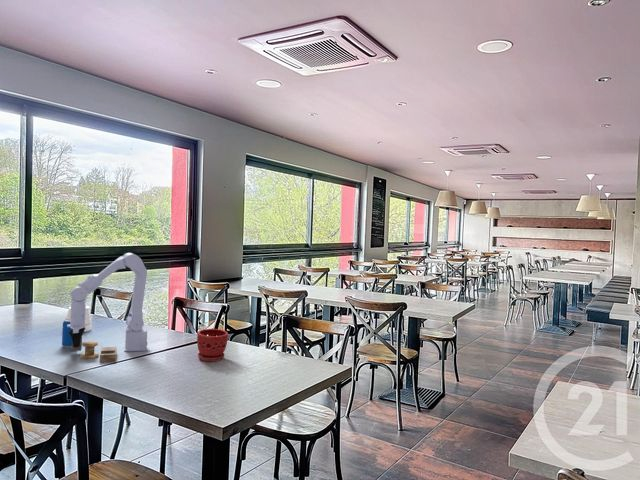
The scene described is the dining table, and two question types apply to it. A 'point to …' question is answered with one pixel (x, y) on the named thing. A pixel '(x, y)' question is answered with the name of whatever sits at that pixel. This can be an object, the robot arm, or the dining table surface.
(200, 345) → the plant pot
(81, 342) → the grey rectangular block
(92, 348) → the spool
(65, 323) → the beverage can
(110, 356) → the block with rectangular opening
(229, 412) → the dining table surface
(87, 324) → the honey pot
